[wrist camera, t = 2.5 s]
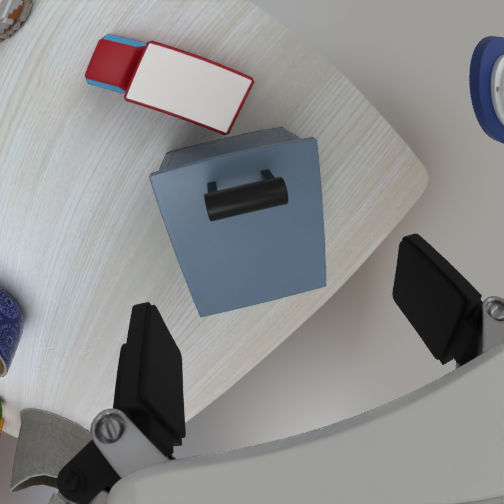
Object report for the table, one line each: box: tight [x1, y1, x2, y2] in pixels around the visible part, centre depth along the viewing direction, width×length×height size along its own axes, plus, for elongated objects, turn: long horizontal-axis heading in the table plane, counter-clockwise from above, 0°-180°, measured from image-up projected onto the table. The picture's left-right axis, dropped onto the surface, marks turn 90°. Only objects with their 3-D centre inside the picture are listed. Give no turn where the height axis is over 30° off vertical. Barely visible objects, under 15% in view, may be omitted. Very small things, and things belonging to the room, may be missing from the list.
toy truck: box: [85, 34, 254, 135], centre depth 23 cm, size 6×15×7 cm, turn 64°
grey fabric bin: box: [10, 409, 92, 492], centre depth 50 cm, size 23×32×25 cm
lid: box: [149, 137, 326, 317], centre depth 23 cm, size 14×13×5 cm
